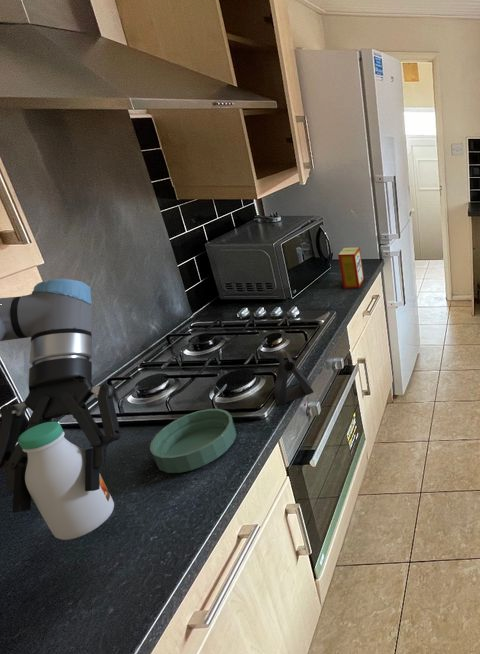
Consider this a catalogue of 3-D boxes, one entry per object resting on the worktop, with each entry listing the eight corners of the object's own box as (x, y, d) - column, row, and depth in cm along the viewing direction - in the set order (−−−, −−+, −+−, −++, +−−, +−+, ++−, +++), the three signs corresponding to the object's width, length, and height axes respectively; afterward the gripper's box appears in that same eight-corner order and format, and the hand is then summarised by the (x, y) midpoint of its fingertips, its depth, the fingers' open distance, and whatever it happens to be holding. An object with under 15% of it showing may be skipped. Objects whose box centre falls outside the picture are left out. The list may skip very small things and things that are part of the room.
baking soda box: (359, 288, 181) (354, 253, 175) (343, 288, 180) (338, 254, 174) (364, 279, 189) (359, 246, 183) (349, 280, 189) (344, 246, 183)
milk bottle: (111, 525, 72) (66, 436, 64) (48, 550, 68) (-8, 457, 60) (118, 493, 77) (78, 407, 70) (61, 514, 73) (11, 425, 66)
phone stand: (277, 405, 110) (268, 368, 106) (273, 394, 115) (264, 357, 110) (313, 392, 116) (305, 356, 111) (308, 382, 120) (300, 346, 115)
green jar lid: (144, 482, 88) (136, 465, 86) (174, 432, 102) (167, 416, 100) (225, 465, 92) (220, 448, 90) (244, 419, 106) (239, 403, 104)
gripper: (143, 354, 81) (148, 476, 74) (-6, 383, 72) (-17, 525, 65) (126, 343, 75) (129, 476, 68) (-40, 374, 66) (-56, 530, 59)
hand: (58, 500), depth 66 cm, fingers closed on milk bottle, 8 cm apart
